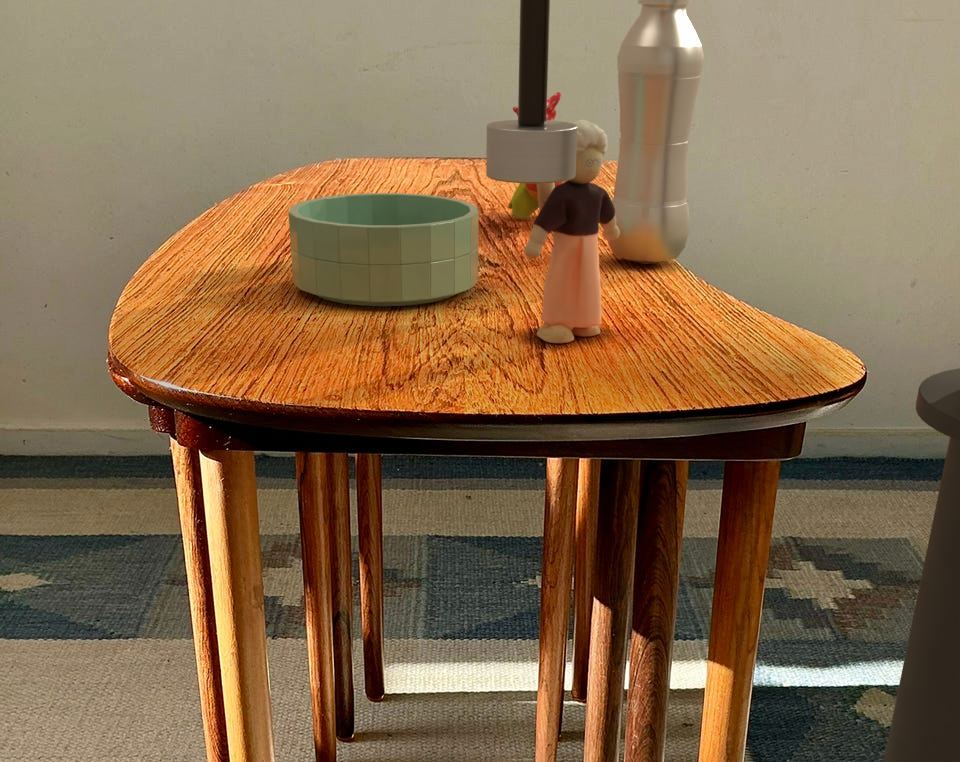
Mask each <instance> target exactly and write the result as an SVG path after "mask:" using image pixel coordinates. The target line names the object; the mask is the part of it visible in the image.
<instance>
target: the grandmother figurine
mask: <svg viewBox="0 0 960 762" xmlns="http://www.w3.org/2000/svg"><path fill="white" fill-rule="evenodd" d="M572 123H573V124H575V125H577V149H576V174H575V178H573V179H571V180H568V181H566V182H564V183H562V184H560V185H558V186H555V188H554V189H553V191H552V192H551V194H550V195H549V197H548V199H547V200H546V202H545V204H544V206H543V207H542V209H541V211H540V212H538V215H537V216H536V217H535V220H534V222H533V226H532V229H531V232H530V234H529V241H528V242H527V243H526V245H525V246H524V254H525V256H527V258H529V259H537V258H539V257H540V256H541V253H542V251H543V246H544V245H545V244H546V242H547V240H548V238H549V235H550V234H551V233H552V243H553V244H552V248H551V251H550V257H549V260H548V266H547V270H546V274H545V277H544V283H543V295H542V296H543V297H542V309H541V317H540V319H541V322H544V324H543V325H541V326H540V327H539V328H538V330H537V332H536V337H538V338H539V339H541V340H542V341H544V342H547V343H551V344H566V343H572V342H573V341H575V336H577V337H584V338H585V337H586V338H587V337H593V336H597V335H600V334H601V328H600V325H602V315H603V314H602V310H603V308H602V306H603V305H602V287H601V285H602V284H601V274H600V254H599V241H598V238H599V237H598V236H599V230H600V229H599V228H600V227H601V229H602V234H603V238H604V239H605V240H606V241H607V242H608V241H613V240H616V239H617V238H618V237H619V234H620V231H619V228H618V227H617V225H616V217H615V208H614V205H613V203H612V199H611V197H610V195H609V193H608V191H607V190H606V189H605V188H604V187H601V186H599V185H598V184H596V183H593V181H594V180H595V179H597V177H599V174H600V172H601V171H602V167H603V158H604V157H605V154H606V153H607V151H608V144H609V140H608V136H607V134H606V133H605V130H604V129H602V128H600V127H599V125H597V124H595V123H593V122H590V121H588V120H587V119H579V120H575V121H574V122H572ZM599 225H600V227H599Z"/></svg>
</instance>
